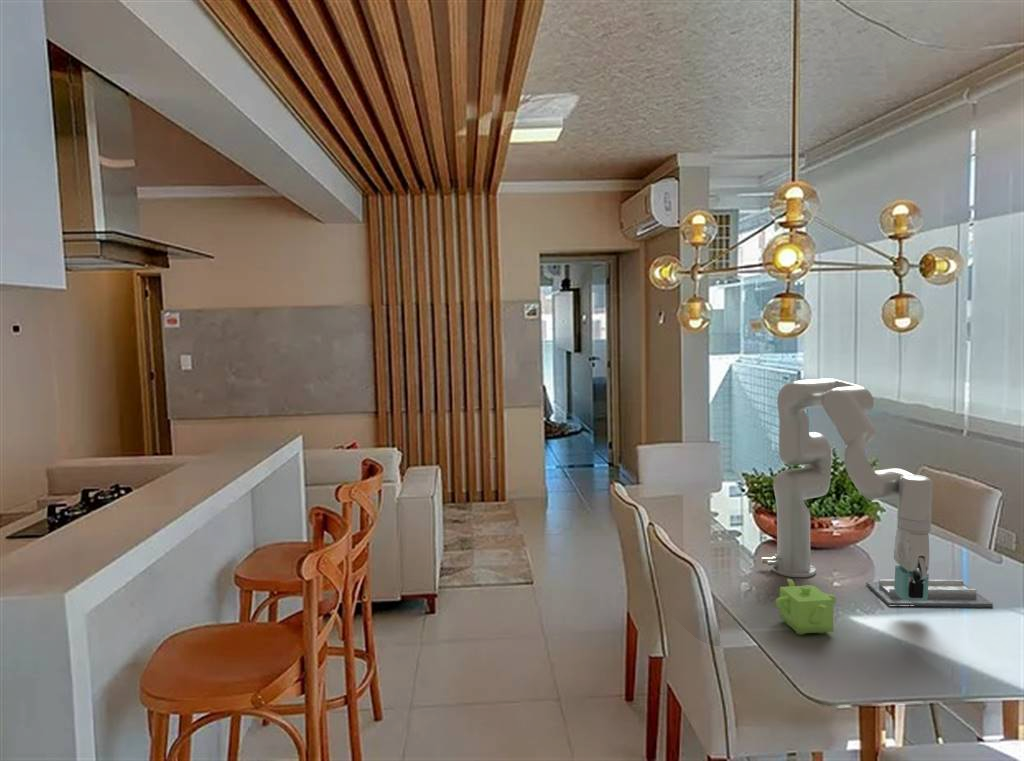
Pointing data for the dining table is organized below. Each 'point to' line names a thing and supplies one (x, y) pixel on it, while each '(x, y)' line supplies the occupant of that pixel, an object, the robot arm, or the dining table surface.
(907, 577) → the block
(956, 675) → the dining table surface
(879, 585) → the rail board
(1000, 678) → the dining table surface
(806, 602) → the teapot
